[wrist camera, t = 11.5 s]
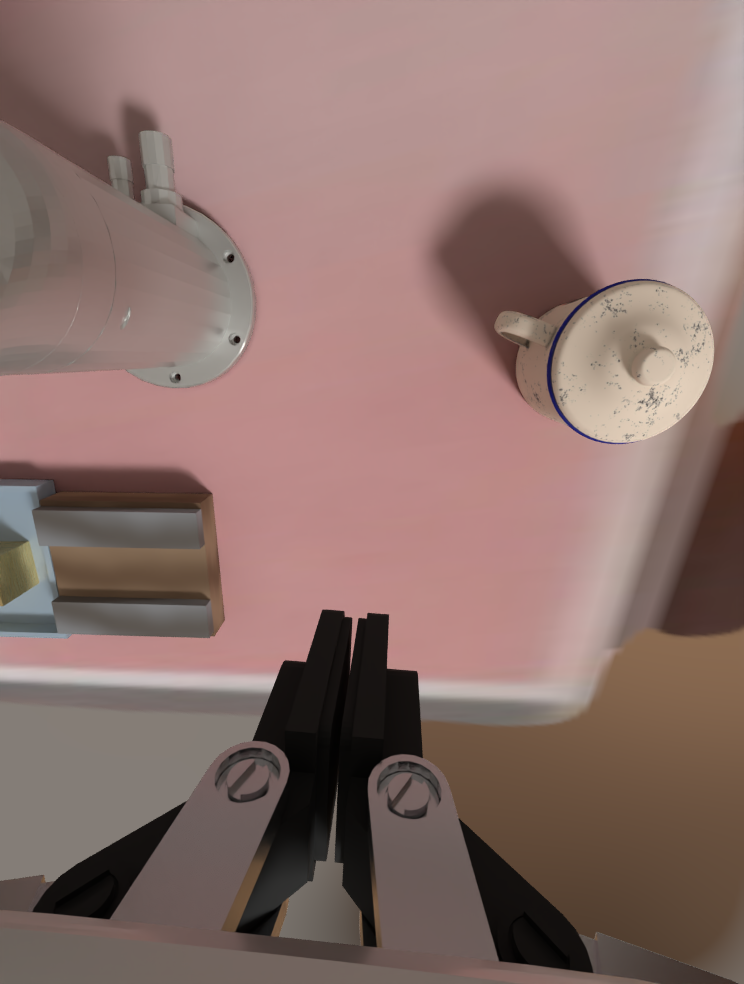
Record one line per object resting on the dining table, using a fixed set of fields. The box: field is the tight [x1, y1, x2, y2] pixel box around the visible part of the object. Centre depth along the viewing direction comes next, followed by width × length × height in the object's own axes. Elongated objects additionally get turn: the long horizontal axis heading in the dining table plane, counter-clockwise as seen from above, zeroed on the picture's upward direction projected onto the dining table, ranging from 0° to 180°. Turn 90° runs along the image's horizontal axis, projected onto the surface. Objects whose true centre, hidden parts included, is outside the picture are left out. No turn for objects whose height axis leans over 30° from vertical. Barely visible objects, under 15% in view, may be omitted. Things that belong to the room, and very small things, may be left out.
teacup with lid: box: [494, 279, 714, 444], centre depth 29 cm, size 12×9×12 cm
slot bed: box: [32, 491, 225, 638], centre depth 39 cm, size 12×13×4 cm
